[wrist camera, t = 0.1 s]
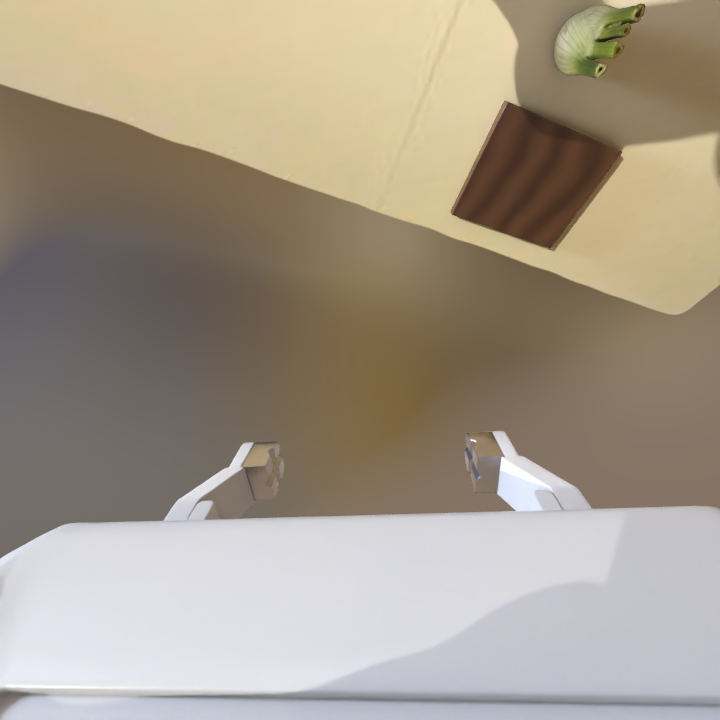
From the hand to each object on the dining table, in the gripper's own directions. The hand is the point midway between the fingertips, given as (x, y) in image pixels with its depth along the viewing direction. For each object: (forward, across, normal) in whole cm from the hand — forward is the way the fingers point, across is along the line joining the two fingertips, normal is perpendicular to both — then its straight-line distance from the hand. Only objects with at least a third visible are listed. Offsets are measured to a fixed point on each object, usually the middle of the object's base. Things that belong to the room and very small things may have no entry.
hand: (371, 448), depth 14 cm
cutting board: (+51, -26, -11) cm, 58 cm away
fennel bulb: (+46, -27, -27) cm, 60 cm away
